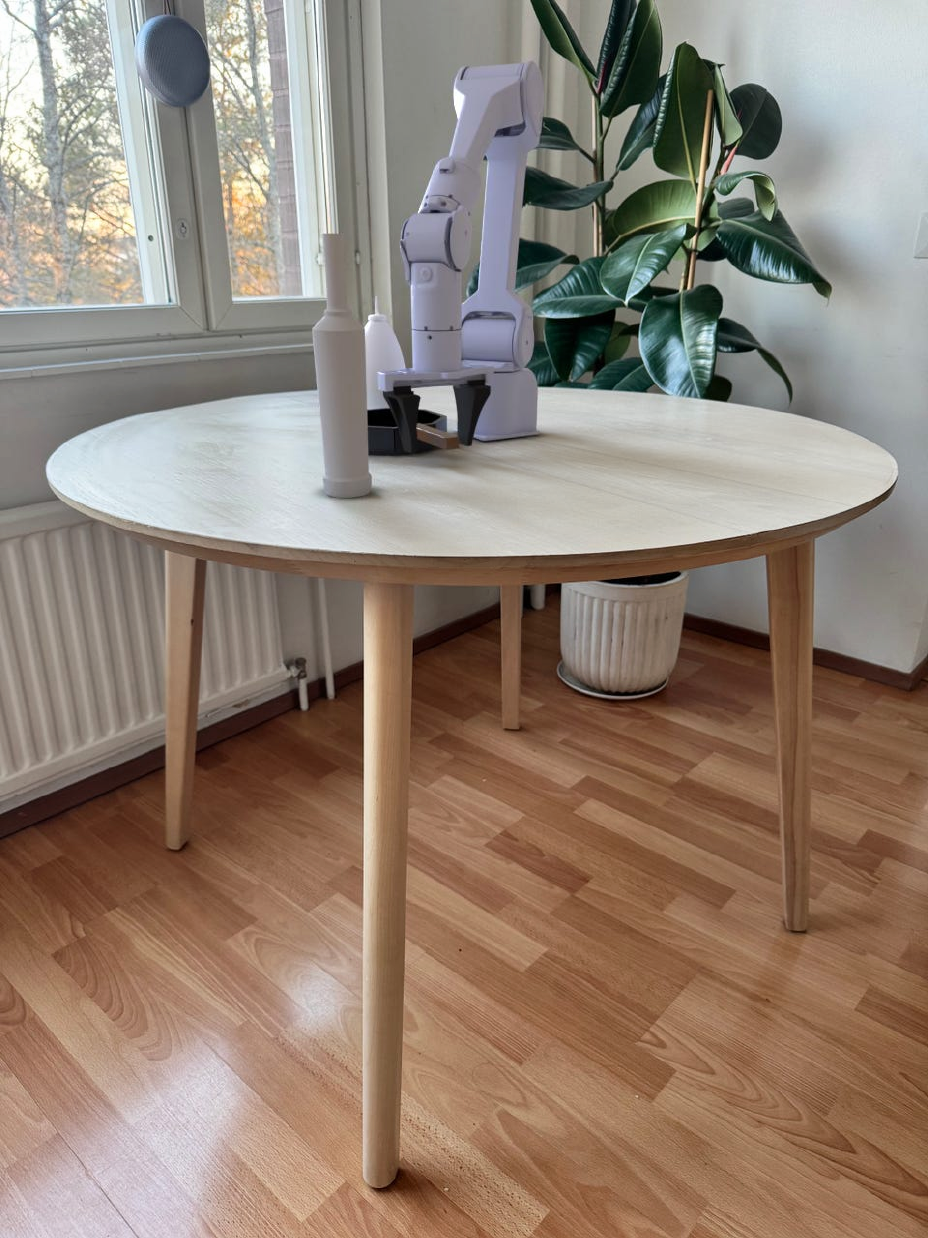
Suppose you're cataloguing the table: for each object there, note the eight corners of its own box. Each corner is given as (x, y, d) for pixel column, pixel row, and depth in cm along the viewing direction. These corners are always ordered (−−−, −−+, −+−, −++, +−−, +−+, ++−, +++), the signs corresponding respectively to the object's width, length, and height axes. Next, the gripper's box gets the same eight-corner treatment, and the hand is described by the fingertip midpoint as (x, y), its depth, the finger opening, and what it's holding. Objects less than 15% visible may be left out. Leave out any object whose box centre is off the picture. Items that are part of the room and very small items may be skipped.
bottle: (325, 486, 91) (307, 234, 81) (372, 485, 91) (361, 234, 81) (321, 499, 86) (302, 232, 76) (372, 497, 86) (359, 233, 76)
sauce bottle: (352, 420, 127) (345, 293, 119) (402, 418, 128) (399, 293, 121) (358, 430, 120) (351, 296, 112) (412, 427, 121) (408, 295, 114)
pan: (413, 429, 120) (412, 403, 119) (502, 461, 102) (503, 431, 100) (322, 439, 113) (320, 412, 112) (400, 476, 95) (399, 443, 93)
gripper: (395, 334, 88) (399, 461, 94) (508, 328, 95) (506, 447, 101) (367, 329, 94) (372, 449, 99) (476, 324, 101) (475, 437, 106)
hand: (438, 447), depth 100 cm, fingers open, 7 cm apart
